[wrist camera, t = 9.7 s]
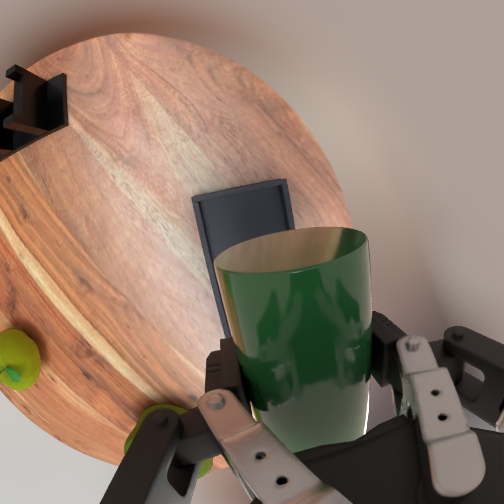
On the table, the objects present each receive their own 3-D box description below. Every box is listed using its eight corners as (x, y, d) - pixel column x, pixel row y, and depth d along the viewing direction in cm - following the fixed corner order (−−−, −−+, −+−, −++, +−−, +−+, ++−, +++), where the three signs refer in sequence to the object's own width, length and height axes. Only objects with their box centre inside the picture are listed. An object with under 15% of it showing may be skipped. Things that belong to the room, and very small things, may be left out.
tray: (193, 196, 31) (191, 197, 29) (281, 178, 32) (286, 178, 29) (229, 343, 36) (230, 354, 33) (304, 326, 36) (310, 335, 34)
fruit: (5, 313, 31) (-29, 339, 22) (46, 328, 33) (12, 362, 23) (14, 358, 33) (-13, 388, 24) (54, 374, 35) (28, 411, 25)
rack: (66, 74, 25) (32, 52, 17) (68, 125, 27) (29, 111, 19) (-2, 115, 25) (-39, 106, 16) (-1, 162, 27) (-41, 161, 18)
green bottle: (217, 244, 12) (207, 288, 7) (335, 220, 12) (399, 246, 7) (272, 456, 16) (282, 516, 10) (345, 438, 16) (369, 493, 11)
